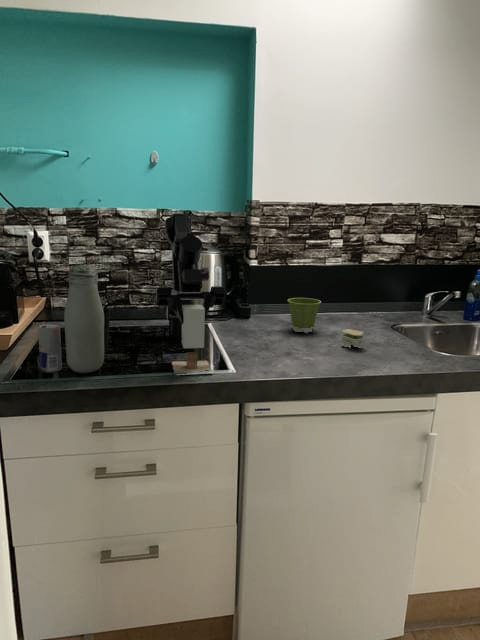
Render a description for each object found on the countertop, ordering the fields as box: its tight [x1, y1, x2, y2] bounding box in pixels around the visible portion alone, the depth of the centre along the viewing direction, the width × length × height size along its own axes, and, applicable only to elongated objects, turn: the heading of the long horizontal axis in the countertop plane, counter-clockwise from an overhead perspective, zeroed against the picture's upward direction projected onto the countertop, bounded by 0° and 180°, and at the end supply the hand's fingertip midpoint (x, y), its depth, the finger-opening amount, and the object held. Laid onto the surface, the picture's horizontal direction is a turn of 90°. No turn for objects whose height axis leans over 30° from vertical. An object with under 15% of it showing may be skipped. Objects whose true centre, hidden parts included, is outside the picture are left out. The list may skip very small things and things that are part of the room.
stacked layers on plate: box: [340, 328, 364, 346], centre depth 167 cm, size 10×9×6 cm
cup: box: [103, 308, 111, 353], centre depth 155 cm, size 8×8×12 cm
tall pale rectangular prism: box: [181, 304, 206, 349], centre depth 139 cm, size 5×5×11 cm
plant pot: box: [287, 297, 322, 328], centre depth 184 cm, size 12×12×11 cm
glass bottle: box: [63, 265, 105, 374], centre depth 134 cm, size 10×10×28 cm
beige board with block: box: [171, 351, 213, 376], centre depth 141 cm, size 10×10×4 cm
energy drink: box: [37, 323, 63, 374], centre depth 137 cm, size 5×5×12 cm
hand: (193, 322), depth 137 cm, fingers closed on tall pale rectangular prism, 5 cm apart
